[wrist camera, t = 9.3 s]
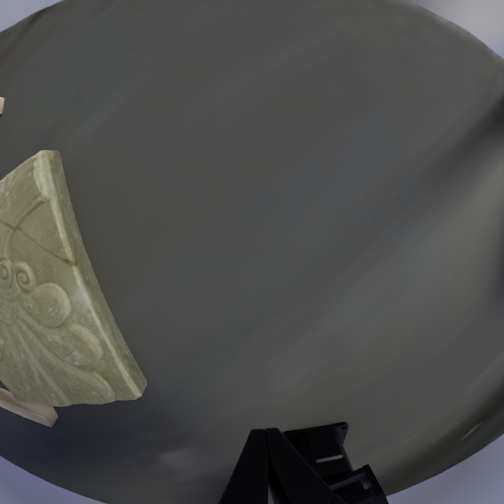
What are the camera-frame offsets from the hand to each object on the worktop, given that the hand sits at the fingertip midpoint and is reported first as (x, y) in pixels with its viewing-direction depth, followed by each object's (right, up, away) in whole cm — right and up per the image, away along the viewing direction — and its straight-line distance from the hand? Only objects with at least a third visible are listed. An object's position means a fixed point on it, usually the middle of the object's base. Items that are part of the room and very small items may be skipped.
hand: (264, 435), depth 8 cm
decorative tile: (-21, +2, +11) cm, 24 cm away
